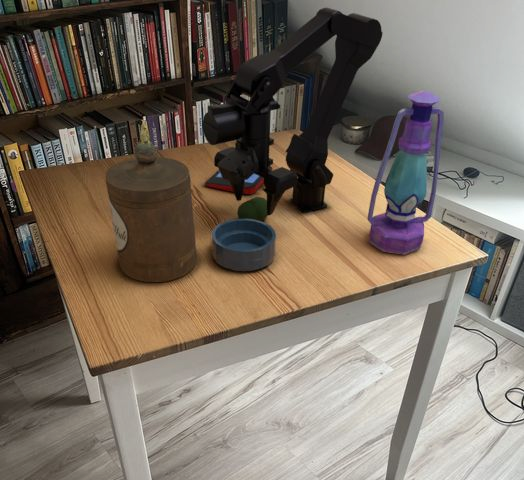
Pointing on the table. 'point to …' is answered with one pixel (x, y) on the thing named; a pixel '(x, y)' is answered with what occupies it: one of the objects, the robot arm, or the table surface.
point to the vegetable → (144, 140)
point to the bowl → (243, 244)
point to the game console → (224, 184)
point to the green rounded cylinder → (253, 209)
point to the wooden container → (152, 217)
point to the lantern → (407, 179)
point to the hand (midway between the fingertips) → (254, 207)
